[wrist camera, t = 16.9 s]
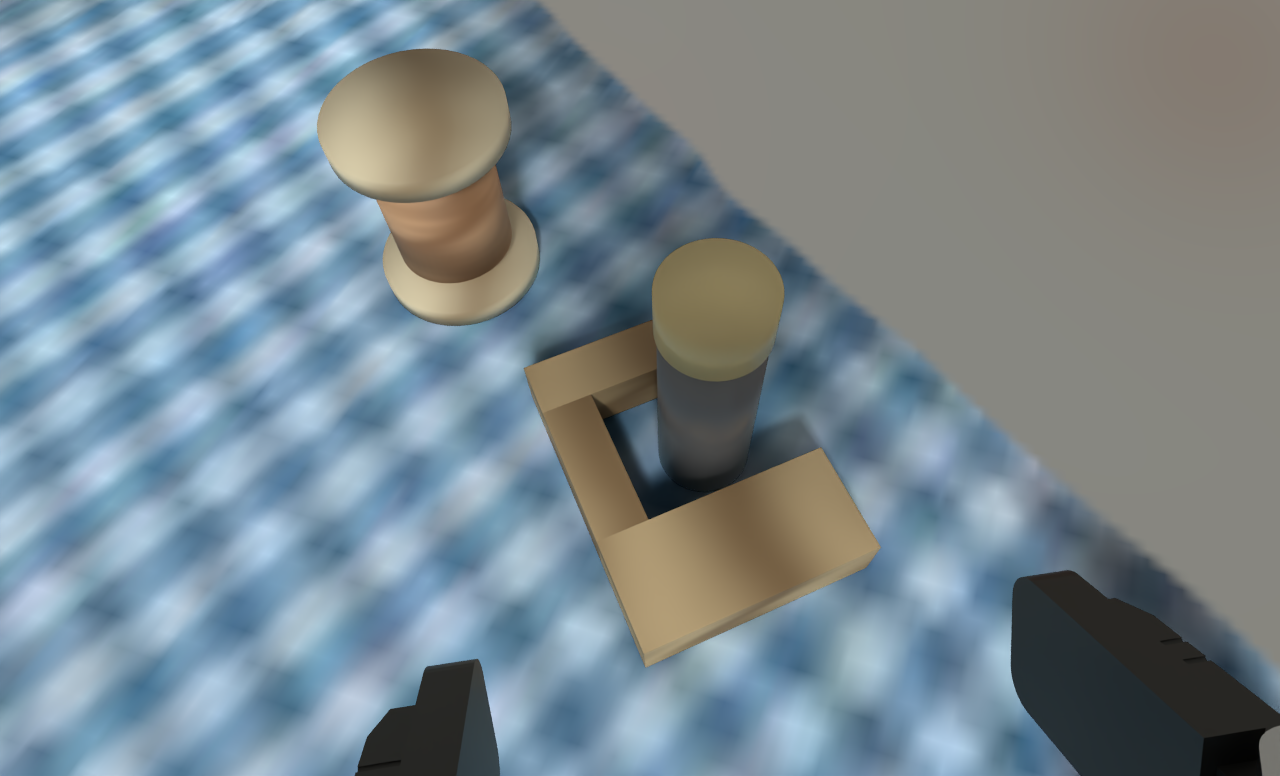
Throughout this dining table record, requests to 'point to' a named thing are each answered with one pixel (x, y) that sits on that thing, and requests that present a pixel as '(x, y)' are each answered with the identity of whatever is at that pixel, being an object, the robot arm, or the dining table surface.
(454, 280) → the bobbin
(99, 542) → the dining table surface
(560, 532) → the dining table surface
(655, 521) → the tan c-shaped clamp
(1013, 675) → the robot arm
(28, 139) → the dining table surface
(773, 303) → the grey cylinder tan cap
